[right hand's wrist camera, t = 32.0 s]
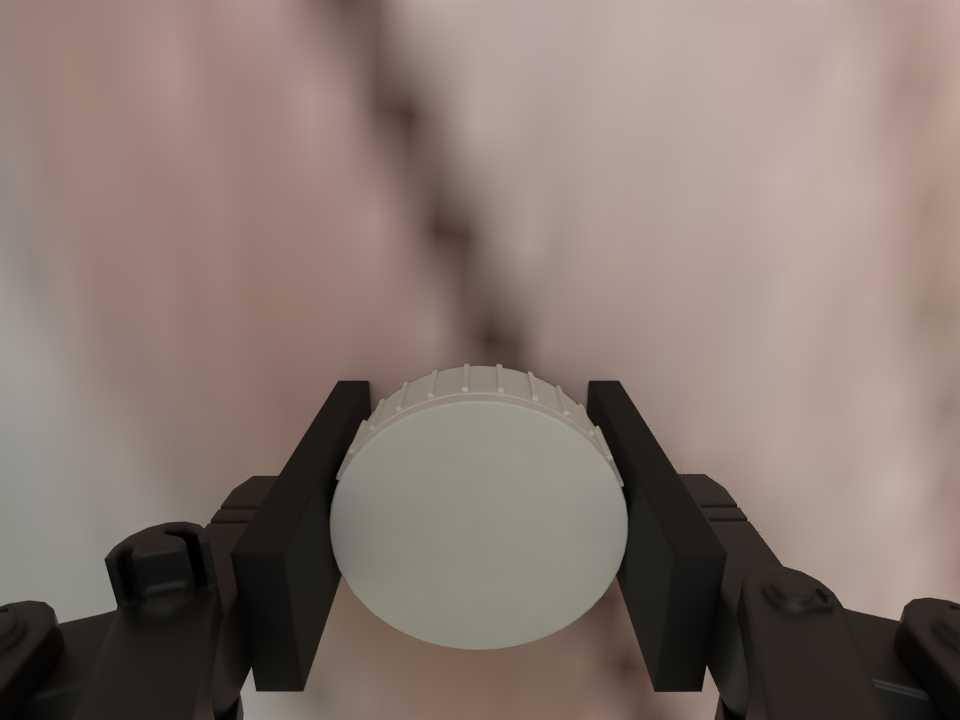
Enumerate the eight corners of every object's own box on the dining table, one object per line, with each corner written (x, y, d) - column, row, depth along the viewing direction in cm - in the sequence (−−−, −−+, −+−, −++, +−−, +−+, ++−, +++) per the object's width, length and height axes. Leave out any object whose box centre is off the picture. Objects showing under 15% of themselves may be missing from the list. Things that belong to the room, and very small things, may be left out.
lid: (565, 611, 13) (578, 676, 12) (327, 562, 13) (304, 623, 11) (650, 398, 11) (678, 439, 10) (373, 331, 11) (354, 363, 9)
